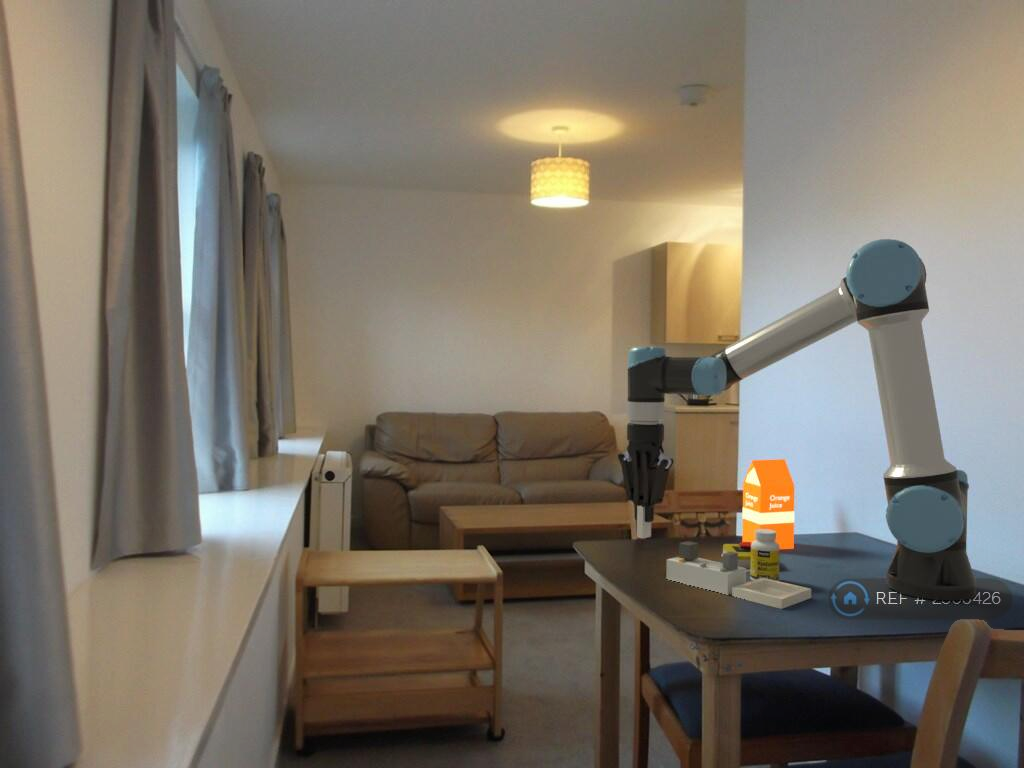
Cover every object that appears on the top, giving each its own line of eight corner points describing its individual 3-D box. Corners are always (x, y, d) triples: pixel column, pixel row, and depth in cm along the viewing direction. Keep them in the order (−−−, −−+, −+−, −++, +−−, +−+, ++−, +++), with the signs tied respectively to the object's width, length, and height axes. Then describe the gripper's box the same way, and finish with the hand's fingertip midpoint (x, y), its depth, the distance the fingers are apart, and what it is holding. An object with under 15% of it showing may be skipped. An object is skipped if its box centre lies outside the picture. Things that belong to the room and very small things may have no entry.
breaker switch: (697, 558, 165) (698, 543, 165) (689, 560, 163) (689, 545, 163) (687, 556, 167) (688, 541, 166) (679, 558, 165) (679, 543, 165)
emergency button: (762, 537, 186) (781, 553, 171) (762, 557, 186) (781, 574, 171) (720, 536, 186) (735, 552, 171) (720, 556, 186) (734, 574, 171)
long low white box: (745, 589, 159) (746, 552, 158) (727, 595, 155) (727, 557, 154) (685, 574, 169) (685, 539, 169) (666, 579, 165) (666, 544, 165)
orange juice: (794, 548, 192) (795, 461, 191) (759, 550, 190) (760, 462, 189) (774, 541, 199) (776, 457, 199) (741, 543, 197) (742, 458, 196)
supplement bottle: (754, 584, 162) (755, 534, 162) (746, 577, 167) (747, 528, 167) (783, 584, 162) (783, 534, 162) (774, 577, 167) (774, 528, 167)
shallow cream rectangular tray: (811, 597, 153) (811, 588, 153) (781, 608, 146) (781, 599, 146) (762, 586, 160) (762, 577, 160) (732, 596, 154) (732, 587, 154)
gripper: (682, 423, 170) (681, 539, 171) (633, 419, 179) (631, 529, 180) (659, 425, 165) (657, 545, 166) (609, 421, 174) (607, 534, 175)
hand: (643, 536), depth 173 cm, fingers closed
